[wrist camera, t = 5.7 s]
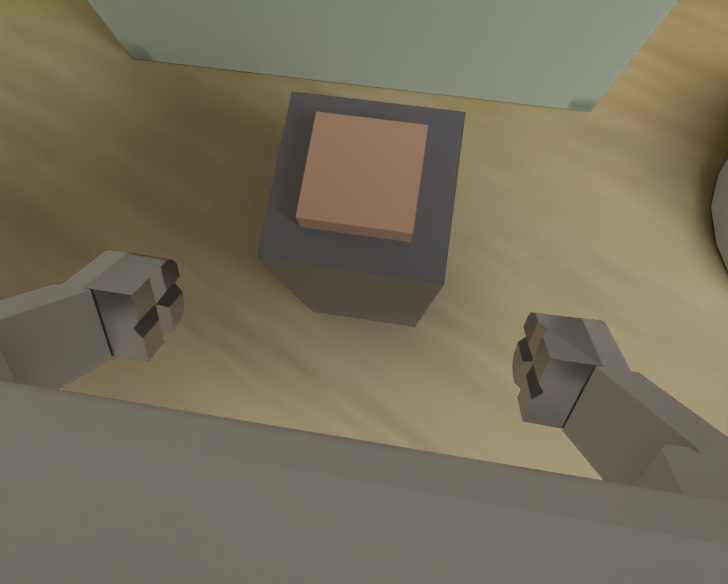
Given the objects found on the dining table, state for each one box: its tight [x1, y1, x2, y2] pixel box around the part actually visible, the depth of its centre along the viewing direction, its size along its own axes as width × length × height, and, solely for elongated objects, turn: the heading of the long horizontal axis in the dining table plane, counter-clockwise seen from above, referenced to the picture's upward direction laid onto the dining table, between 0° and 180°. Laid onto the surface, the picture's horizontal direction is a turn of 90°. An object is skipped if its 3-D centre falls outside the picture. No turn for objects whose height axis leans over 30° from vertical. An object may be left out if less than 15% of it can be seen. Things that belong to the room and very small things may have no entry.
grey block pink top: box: [258, 92, 465, 327], centre depth 13 cm, size 4×4×9 cm
